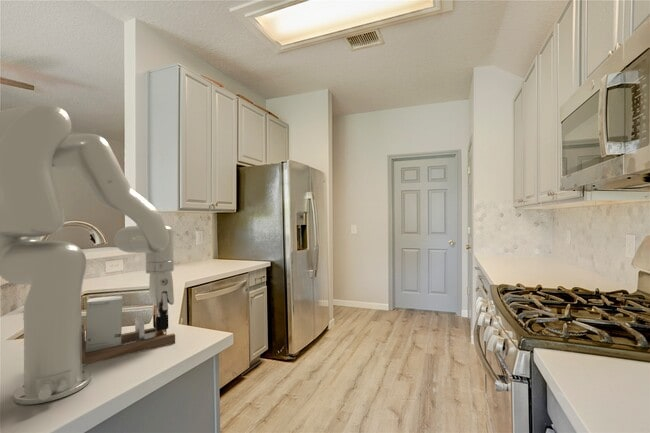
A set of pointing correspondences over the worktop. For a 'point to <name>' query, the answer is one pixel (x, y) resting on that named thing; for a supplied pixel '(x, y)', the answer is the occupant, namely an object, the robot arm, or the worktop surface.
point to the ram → (140, 329)
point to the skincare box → (103, 323)
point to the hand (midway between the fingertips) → (160, 327)
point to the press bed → (125, 346)
